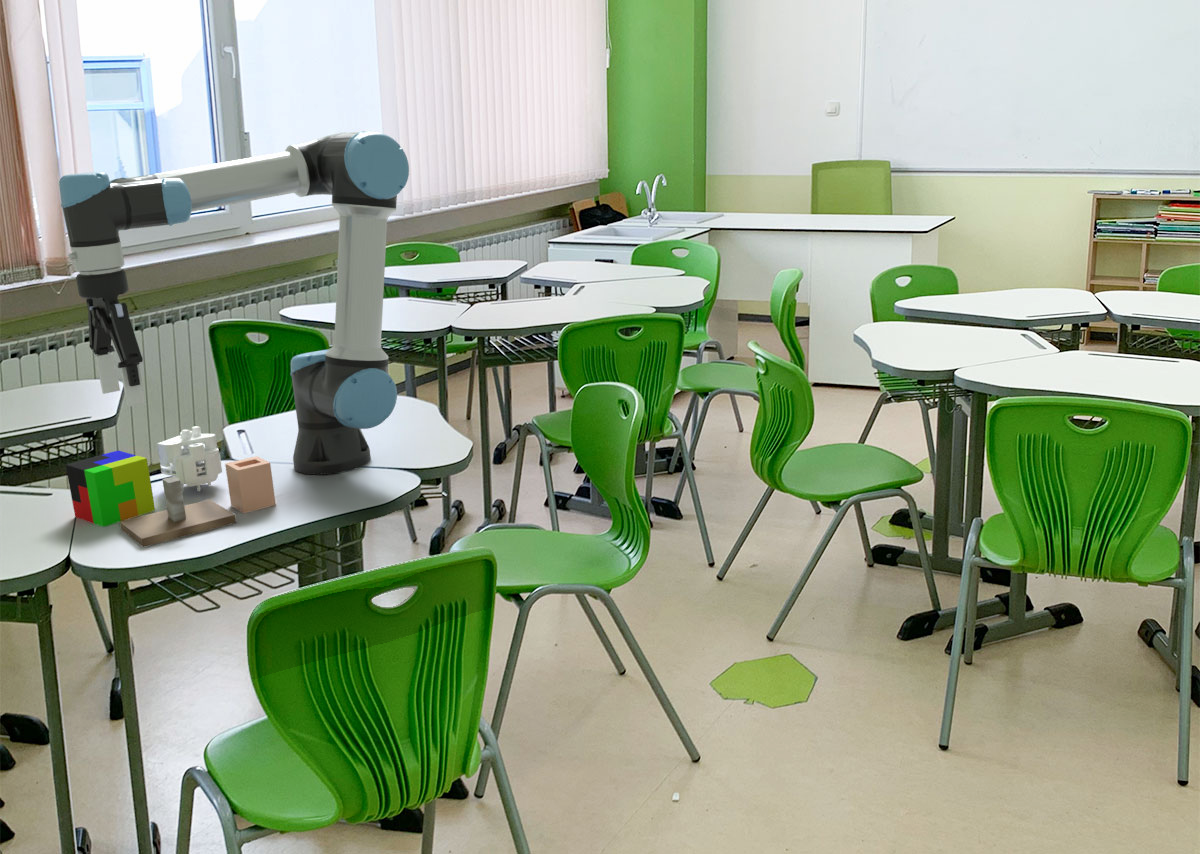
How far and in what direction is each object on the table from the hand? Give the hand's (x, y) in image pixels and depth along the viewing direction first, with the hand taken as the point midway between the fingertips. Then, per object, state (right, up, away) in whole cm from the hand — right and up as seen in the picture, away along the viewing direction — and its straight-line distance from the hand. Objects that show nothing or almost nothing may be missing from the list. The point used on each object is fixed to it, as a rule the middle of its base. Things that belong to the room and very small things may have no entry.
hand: (123, 398), depth 194 cm
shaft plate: (+6, -22, +9) cm, 24 cm away
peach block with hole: (+16, -19, +18) cm, 31 cm away
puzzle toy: (-9, -21, +18) cm, 29 cm away
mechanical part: (+1, -17, +30) cm, 34 cm away
